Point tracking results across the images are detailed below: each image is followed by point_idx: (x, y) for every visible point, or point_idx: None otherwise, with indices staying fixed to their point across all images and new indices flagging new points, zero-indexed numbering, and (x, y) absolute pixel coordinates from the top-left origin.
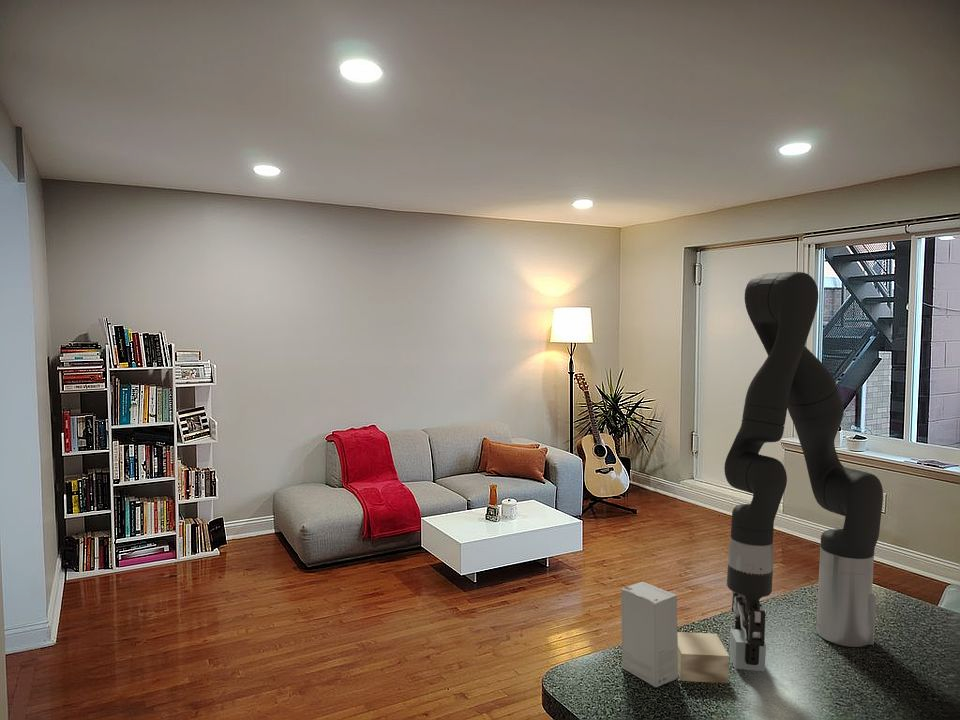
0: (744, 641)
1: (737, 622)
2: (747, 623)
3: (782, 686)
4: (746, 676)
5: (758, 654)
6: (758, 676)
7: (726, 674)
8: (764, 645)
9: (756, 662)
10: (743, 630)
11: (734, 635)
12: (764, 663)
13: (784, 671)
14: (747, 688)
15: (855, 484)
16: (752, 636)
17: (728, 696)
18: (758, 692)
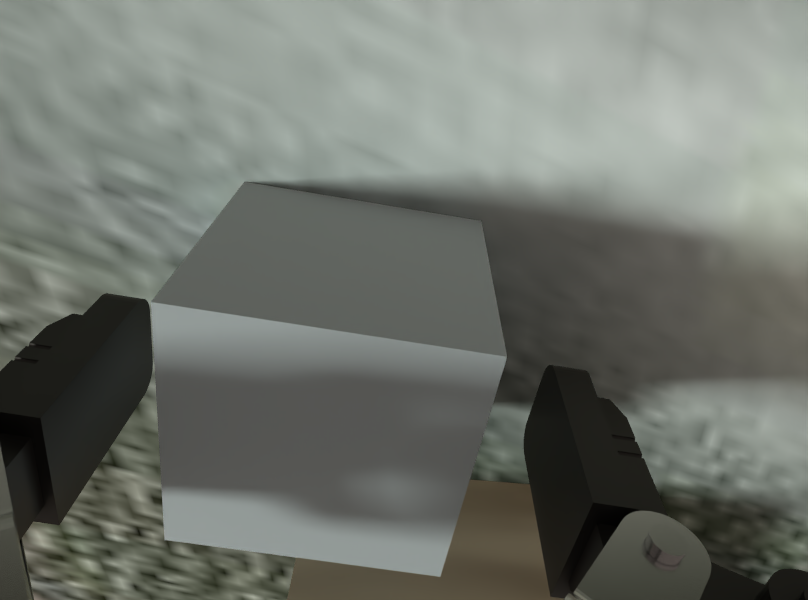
0: (428, 517)
1: (61, 509)
2: (43, 418)
3: (723, 178)
4: (542, 372)
5: (605, 431)
6: (551, 296)
7: None
8: (502, 363)
9: (616, 412)
10: (173, 450)
11: (303, 549)
12: (487, 256)
13: (490, 41)
14: (687, 418)
15: None
16: (307, 415)
17: (741, 530)
18: (750, 375)
